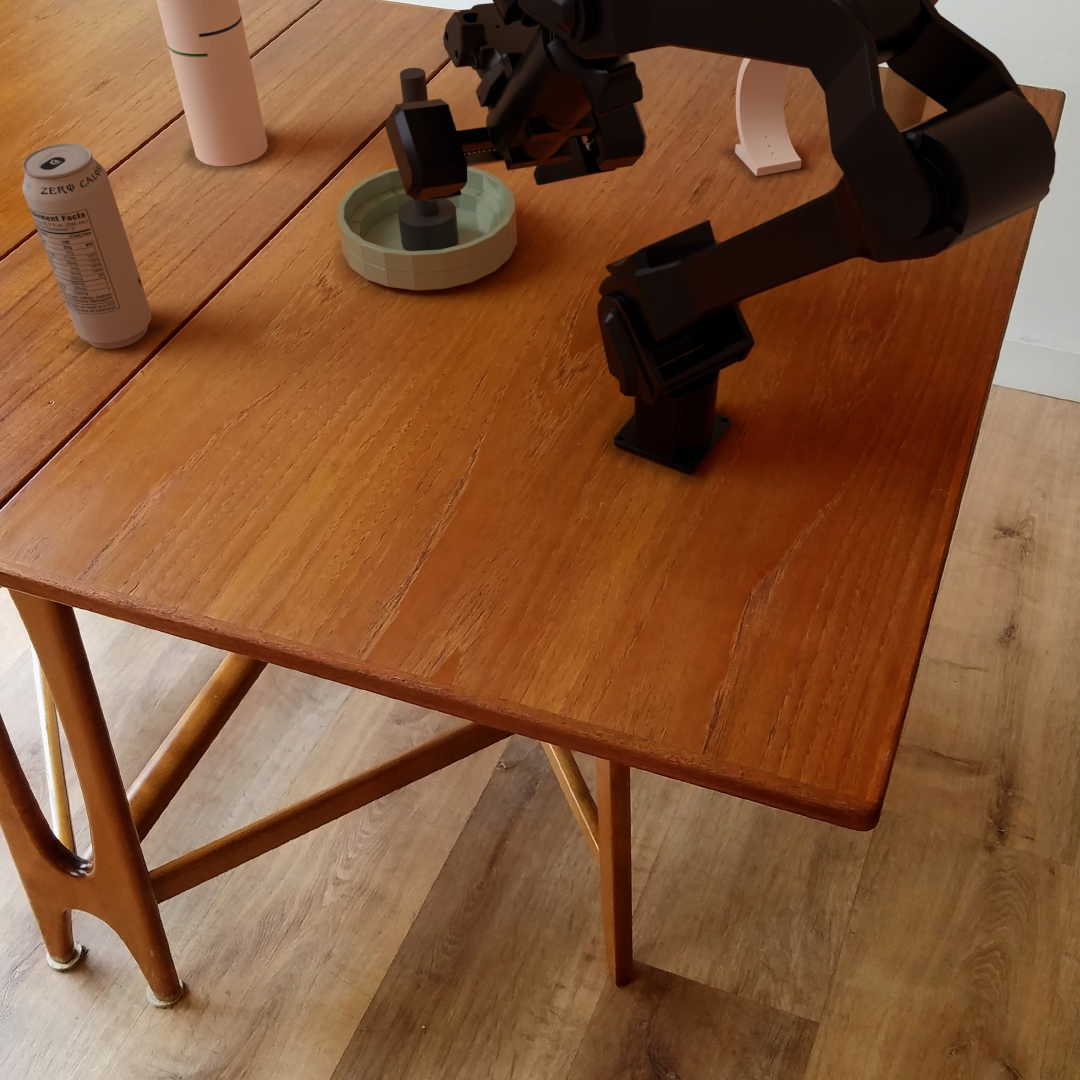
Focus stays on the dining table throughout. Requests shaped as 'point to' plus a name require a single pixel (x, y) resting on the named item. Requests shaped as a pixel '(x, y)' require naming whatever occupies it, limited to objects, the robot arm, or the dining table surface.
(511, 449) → the dining table surface
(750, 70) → the headphone stand
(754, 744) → the dining table surface
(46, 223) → the energy drink can
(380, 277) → the bowl
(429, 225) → the grey rod with base
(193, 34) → the cylindrical container
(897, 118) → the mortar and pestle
